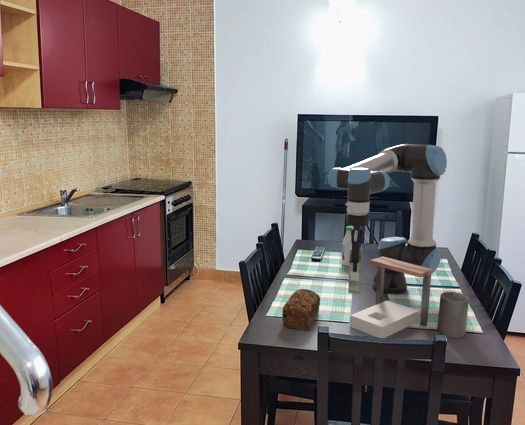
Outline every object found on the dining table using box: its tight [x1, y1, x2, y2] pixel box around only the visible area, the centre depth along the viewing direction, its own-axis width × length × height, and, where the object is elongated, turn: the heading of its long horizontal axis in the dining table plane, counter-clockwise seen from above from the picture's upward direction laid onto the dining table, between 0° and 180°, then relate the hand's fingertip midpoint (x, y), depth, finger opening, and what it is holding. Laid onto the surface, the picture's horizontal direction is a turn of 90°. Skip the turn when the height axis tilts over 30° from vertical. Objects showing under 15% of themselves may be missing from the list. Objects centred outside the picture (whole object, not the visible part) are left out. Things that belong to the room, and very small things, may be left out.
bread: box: [281, 288, 321, 332], centre depth 193 cm, size 19×11×10 cm, turn 160°
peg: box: [347, 246, 363, 295], centre depth 181 cm, size 4×4×16 cm
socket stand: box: [349, 256, 433, 339], centre depth 189 cm, size 24×22×22 cm
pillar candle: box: [436, 291, 470, 339], centre depth 183 cm, size 10×10×15 cm
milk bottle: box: [341, 225, 353, 267], centre depth 264 cm, size 8×8×20 cm
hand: (355, 277), depth 181 cm, fingers closed on peg, 4 cm apart
